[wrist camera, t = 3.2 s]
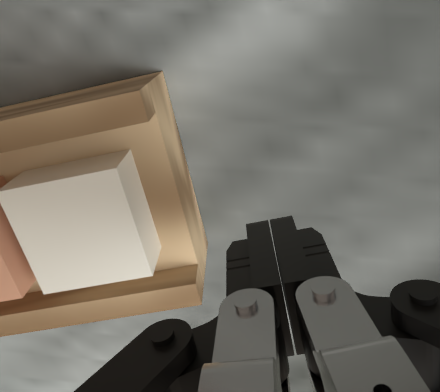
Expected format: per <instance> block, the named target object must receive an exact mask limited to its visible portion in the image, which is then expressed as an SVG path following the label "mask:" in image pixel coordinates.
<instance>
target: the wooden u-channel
mask: <svg viewBox="0 0 440 392" xmlns="http://www.w3.org/2000/svg"><path fill="white" fill-rule="evenodd" d="M128 149H131V152H132V155H133V158H134V162H135V165H136V168H137V171H138V174H139V177H140V181H141V184H142V187H143V190H144V193H145V196H146V199H147V203H148V206H149V209H150V212H151V215H152V218H153V222H154V225H155V228H156V231H157V234H158V237H159V241H160V244H161V250H160V253H159V257H158V260H157V263H156V267H155V270H154V274H153V276H150V277H144V278H138V279H132V280H127V281H121V282H115V283H109V284H103V285H97V286H91V287H85V288H79V289H73V290H68V291H62V292H56V293H50V294H43V292H42V290H41V288H40V286H39V284H38V281H37V279H36V281H35V282H34V283H33V285H32V286H31V287H30V289H29V290H28V292H27V293H26V294H25V296H24V297H23V298H20V299H14V300H8V301H3V302H0V337H2V336H8V335H15V334H21V333H27V332H33V331H40V330H46V329H52V328H59V327H65V326H71V325H77V324H84V323H90V322H96V321H102V320H109V319H115V318H121V317H128V316H134V315H140V314H146V313H153V312H159V311H165V310H171V309H178V308H184V307H190V306H197V305H202V295H203V285H204V275H205V265H206V255H207V245H208V242H207V238H206V235H205V231H204V227H203V223H202V219H201V216H200V212H199V208H198V204H197V200H196V196H195V193H194V189H193V185H192V181H191V177H190V174H189V170H188V166H187V162H186V158H185V155H184V151H183V147H182V143H181V139H180V136H179V132H178V128H177V124H176V120H175V117H174V113H173V109H172V105H171V101H170V97H169V94H168V90H167V86H166V82H165V78H164V75H163V71H161V72H156V73H152V74H147V75H143V76H139V77H134V78H130V79H125V80H121V81H116V82H112V83H107V84H103V85H99V86H94V87H90V88H85V89H81V90H76V91H72V92H67V93H63V94H59V95H54V96H50V97H45V98H41V99H36V100H32V101H27V102H23V103H19V104H14V105H10V106H5V107H1V108H0V176H2V175H3V177H4V179H5V181H6V183H8V182H10V181H11V180H12V179H14V178H15V177H16V176H18V175H19V174H20V173H22V172H23V171H26V170H31V169H36V168H40V167H45V166H50V165H55V164H60V163H65V162H70V161H75V160H79V159H84V158H89V157H94V156H99V155H104V154H109V153H113V152H118V151H123V150H128Z"/></svg>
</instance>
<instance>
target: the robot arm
mask: <svg viewBox="0 0 440 392" xmlns="http://www.w3.org/2000/svg"><path fill="white" fill-rule="evenodd" d="M270 224H271V229H272V235H273V240H274V246H275V251H276V256H277V261H276V257H275V252H274V247H273V242H272V237H271V233H270V228H269V223H268V220H266V221H260V222H255V223H250V224H246V228H247V239H245V240H239V241H234V242H232V244H231V245H230V247H229V248H228V250H227V251H226V261H227V263H226V269H227V271H226V298H225V299H224V300H223V301H222V303H221V305H220V308H219V314H218V316H217V317H216V318H214V319H213V320H211V321H210V322H208V323H205V324H203V325H201V326H198V327H196V328H193V329H191V327H190V326H189V324H188V323H187V322H185V321H183V320H180V319H166V320H162V321H159V322H156V323H154V324H152V325H151V326H149V327H148V328H146V329H145V330H144V331H143V332H142V333H141V334H139V335H138V336H137V337H136V338H135V339H134V340H133V341H131V342H130V343H129V344H128V345H127V346H126V347H124V348H123V349H122V350H121V351H120V352H119V353H118V354H116V355H115V356H114V357H113V358H112V359H111V360H110V361H108V362H107V363H106V364H105V365H104V366H103V367H102V368H100V369H99V370H98V371H97V372H96V373H95V374H94V375H92V376H91V377H90V378H89V379H88V380H87V381H85V382H84V383H83V384H82V385H81V386H80V387H79V388H77V389H76V390H75V391H74V392H290V382H289V377H288V374H289V363H288V358H287V356H293V355H294V350H293V345H292V339H291V334H290V329H289V323H288V318H287V312H286V307H285V302H284V296H285V301H286V306H287V310H288V315H289V320H290V324H291V329H292V334H293V339H294V343H295V348H296V353H297V355H299V354H305V357H306V361H307V366H308V372H309V377H310V381H311V384H312V387H313V391H314V392H440V283H438V282H434V281H430V280H409V281H405V282H402V283H400V284H398V285H397V286H395V287H394V288H393V289H392V291H391V293H390V297H375V296H367V295H363V294H359V293H357V292H354V290H353V289H352V287H351V286H350V284H348V283H347V282H346V281H344V280H342V279H341V277H340V274H339V272H338V270H337V268H336V265H335V263H334V261H333V259H332V257H331V254H330V253H329V250H328V248H327V245H326V243H325V241H324V239H323V237H322V234H320V233H319V232H317V231H316V230H314V229H313V228H306V229H300V230H297V229H296V226H295V223H294V220H293V217H292V216H287V217H282V218H276V219H271V220H270ZM277 262H278V266H277ZM278 267H279V271H278ZM279 272H280V276H279ZM280 277H281V280H280ZM281 282H282V285H281ZM282 287H283V291H284V296H283V291H282Z"/></svg>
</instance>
